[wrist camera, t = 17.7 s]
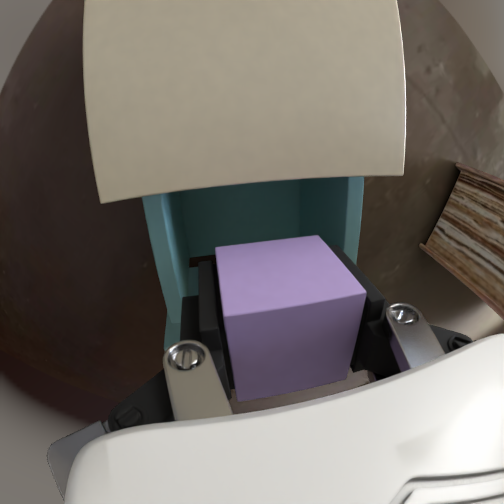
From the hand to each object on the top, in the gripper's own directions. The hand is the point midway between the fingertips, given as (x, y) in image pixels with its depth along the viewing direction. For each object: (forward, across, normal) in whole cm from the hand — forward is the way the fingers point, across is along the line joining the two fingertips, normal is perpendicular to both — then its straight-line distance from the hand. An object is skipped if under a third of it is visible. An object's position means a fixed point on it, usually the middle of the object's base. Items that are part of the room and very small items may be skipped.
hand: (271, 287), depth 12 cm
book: (+10, -30, +6) cm, 32 cm away
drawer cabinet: (+10, 0, -11) cm, 15 cm away
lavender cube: (0, 0, 0) cm, 0 cm away
